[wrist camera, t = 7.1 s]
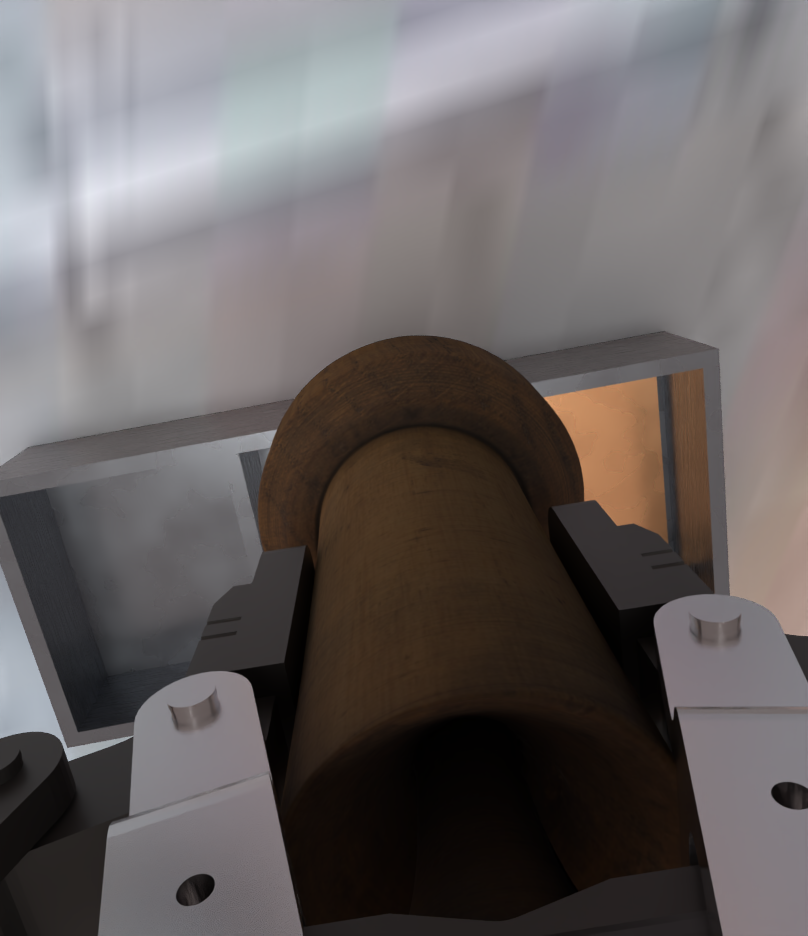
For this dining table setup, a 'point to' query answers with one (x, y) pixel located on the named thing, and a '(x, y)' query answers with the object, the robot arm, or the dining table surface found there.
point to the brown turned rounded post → (450, 651)
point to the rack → (237, 530)
